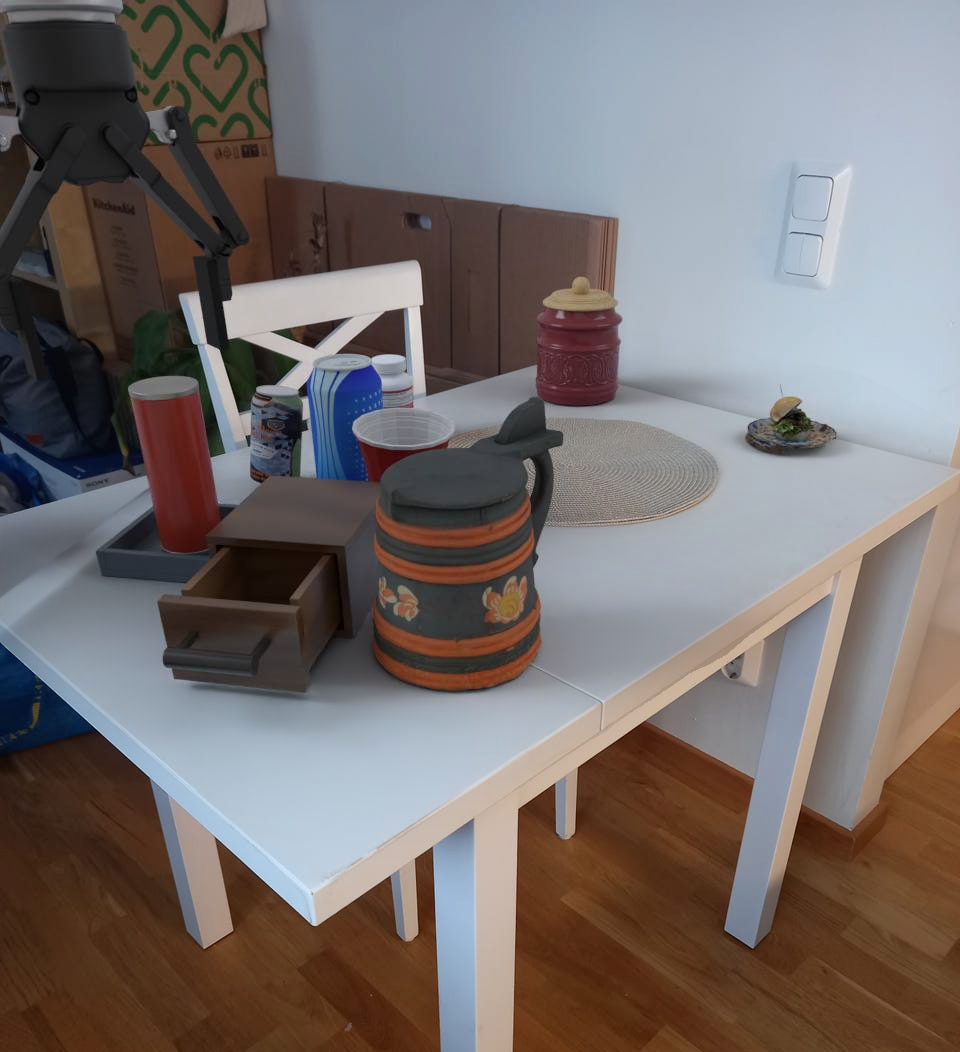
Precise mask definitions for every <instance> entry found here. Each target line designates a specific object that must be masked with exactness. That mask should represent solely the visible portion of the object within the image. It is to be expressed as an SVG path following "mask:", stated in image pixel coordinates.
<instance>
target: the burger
mask: <svg viewBox="0 0 960 1052" xmlns="http://www.w3.org/2000/svg"><path fill="white" fill-rule="evenodd" d="M779 386H780V393H781V396H782V397H781V398H779V399H778V400H777V401H776V402H775V403H774V404H773V406H772V408H771V409H770V412H769V417H768V418H766V417H765V418H759V419H755V420H753V421H751V422H749V424H748V425H747V428H746V429H747V433H746V434H745V441H746V442H747V444H749V445H750V446H752V447H753V448H755V449H758V450H760V451H762V452H765V453H773V454H776V455H782V454H783V453H784V452H785V451H786V449H799V450H806V449H807V450H808V449H814V448H818V447H820V446H821V447H822V446H825V445H826V444H828V443H830V442H831V441H834V440H836V439H837V431H836V430H835V429H834V428H833V427H831V426H830V425H828V424H826V423H821V422H819V421H814V420H812V419H811V417H808V416H807V414H806V412H805V411H804V410H802V408H798V407H799V406H800V405H801V404H802V403H803V400H802V399H801V398H799V397H797V396H783V395H784V394H783V390H782V386H781V384H779Z"/></svg>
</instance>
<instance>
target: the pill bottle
mask: <svg viewBox="0 0 960 1052" xmlns="http://www.w3.org/2000/svg"><path fill="white" fill-rule="evenodd" d="M371 359H372V366H373V367H374V369H375V370H376V372H377V373H378V375H379V376H380V378H381V381H382V395H383V409H390V408H415V407H414V389H413V388H414V387H413V386H414V385H413V379H412V377H411V375H410V374H408V373H407V372H405V371H406V370H407V358H406V357H405V356H404V355H403V356H402V355H400V354H392V353H391V354H389V353H388V354H379V355H375V356H373V357H371Z"/></svg>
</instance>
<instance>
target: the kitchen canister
mask: <svg viewBox="0 0 960 1052" xmlns="http://www.w3.org/2000/svg"><path fill="white" fill-rule="evenodd" d="M542 305H543V306H544V310H543V311H542V312H540V313H539V314H538V315H537V316H536V321H537V323H538V324H539V335H538V336H537V338H536V345H537V349H536V351H537V352H536V354H537V355H536V377H535V388H536V395H537V397H539V398H542V399H543V401H544V402H548V403H552V404H557V405H564V406H593V405H600V404H603V403H607V402H609V401H612V400H613V399H615V398H616V396H617V391H618V389H619V382H620V381H619V363H620V362H619V361H620V346H621V343H622V340H621V338H620V337H619V326H620V325H621V324H622V322H623V321H624V320H623V319H624V318H623V316H622V315H621V314H620V313H619V312H617V310H616V307H617V306H618V305H619V301H618V300H617V298H615V297H613V296H612V295H611V294H610V293H609V292H608V291H606V290H602V289H597V288H591V284H590V281H589V279H588V278H587V277H585V276H578V277H576V278H574V280H573V282H572V285H571V288H563V289H557V290H555V291H553V292H552V293H551V294H550V295H549V296H547V297H545V298H544V299H543V300H542Z"/></svg>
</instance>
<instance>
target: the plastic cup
mask: <svg viewBox="0 0 960 1052" xmlns="http://www.w3.org/2000/svg"><path fill="white" fill-rule="evenodd" d="M352 431H353V433H354V435H355V436H356V437H357V440H358V441H359V446H360V447H361V451H362V455H363V457H364V460H365V464H366V468H367V473H368V477H369V481H370V482H380V481H381V477H382V475H383V473H384V472H385V471H386V470H387V469H388V468H389V467H390V466H392V465H393V464H395V463H396V462H398V461H400V460H402V459H404V458H406V457H408V456H411V455H414V454H417V453H420V452H424V451H429V450H435V449H445V448H449V442H450V441H451V439H452V437H453V436H454V434H455V423H454V422H453V421H452V420H451V419H450V418H449V417H448V416H446V415H444V414H441V413H439V412H436V411H433V410H427V409H422V408H417V407H414V408H390V409H382V410H376V411H373V412H370V413H367V414H364V415H362V416H360V417H359V418H358V419H356V420H355V421H354V422H353V427H352Z"/></svg>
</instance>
